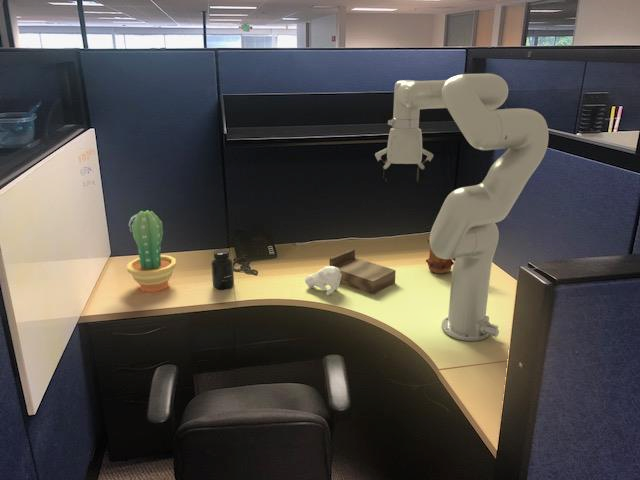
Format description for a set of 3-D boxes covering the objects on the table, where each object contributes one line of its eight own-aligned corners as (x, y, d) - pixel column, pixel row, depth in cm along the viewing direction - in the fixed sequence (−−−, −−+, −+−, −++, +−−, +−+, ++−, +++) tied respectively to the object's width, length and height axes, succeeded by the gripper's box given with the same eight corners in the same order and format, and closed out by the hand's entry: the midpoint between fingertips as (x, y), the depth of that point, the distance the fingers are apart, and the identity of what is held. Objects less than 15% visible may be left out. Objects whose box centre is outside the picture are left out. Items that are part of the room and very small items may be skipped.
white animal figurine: (334, 271, 156) (299, 268, 161) (336, 297, 158) (302, 293, 164) (342, 263, 161) (308, 261, 166) (344, 289, 164) (311, 286, 169)
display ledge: (395, 282, 168) (396, 261, 166) (372, 294, 160) (373, 272, 158) (352, 268, 180) (352, 248, 178) (329, 279, 172) (329, 258, 169)
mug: (422, 272, 176) (424, 231, 171) (428, 264, 183) (431, 224, 178) (465, 280, 170) (469, 237, 165) (470, 271, 177) (474, 230, 172)
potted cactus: (172, 273, 178) (164, 203, 169) (184, 289, 165) (176, 214, 157) (125, 282, 171) (115, 209, 162) (134, 300, 158) (123, 222, 150)
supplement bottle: (229, 291, 163) (226, 256, 159) (209, 289, 165) (206, 254, 161) (237, 282, 170) (235, 248, 166) (218, 281, 171) (215, 247, 167)
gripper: (376, 125, 148) (374, 184, 154) (437, 126, 147) (433, 184, 153) (375, 122, 155) (373, 178, 161) (433, 122, 154) (429, 178, 160)
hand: (402, 181), depth 157 cm, fingers open, 9 cm apart
